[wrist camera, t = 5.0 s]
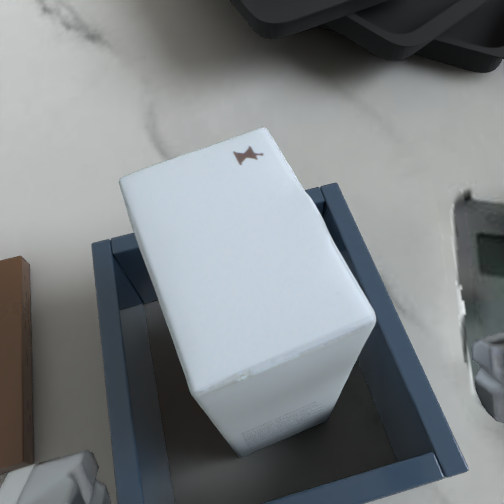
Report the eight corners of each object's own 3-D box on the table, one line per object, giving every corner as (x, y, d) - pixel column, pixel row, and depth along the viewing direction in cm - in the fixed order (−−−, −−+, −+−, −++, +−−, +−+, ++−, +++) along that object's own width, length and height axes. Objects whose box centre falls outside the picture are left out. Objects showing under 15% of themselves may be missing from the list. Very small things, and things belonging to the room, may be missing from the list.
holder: (163, 563, 17) (124, 578, 13) (126, 294, 23) (90, 242, 19) (425, 482, 18) (470, 470, 14) (327, 242, 24) (337, 181, 20)
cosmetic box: (191, 335, 22) (111, 170, 12) (274, 302, 22) (268, 117, 12) (238, 465, 19) (187, 401, 9) (332, 423, 20) (389, 315, 9)
